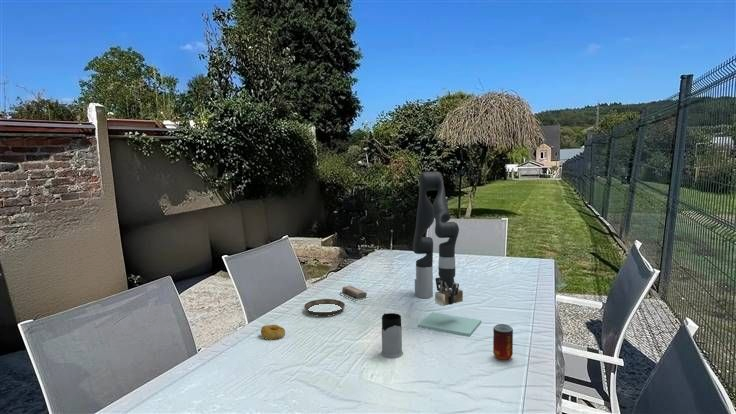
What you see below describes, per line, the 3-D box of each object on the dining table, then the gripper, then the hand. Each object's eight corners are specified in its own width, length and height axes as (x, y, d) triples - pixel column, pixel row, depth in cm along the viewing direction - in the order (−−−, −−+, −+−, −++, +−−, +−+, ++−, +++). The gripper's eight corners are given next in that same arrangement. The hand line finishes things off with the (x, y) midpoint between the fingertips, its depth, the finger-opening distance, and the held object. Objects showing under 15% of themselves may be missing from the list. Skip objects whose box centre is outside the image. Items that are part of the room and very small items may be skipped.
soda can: (501, 351, 171) (501, 321, 169) (516, 358, 165) (517, 327, 164) (489, 356, 167) (489, 325, 165) (504, 363, 161) (504, 331, 160)
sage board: (417, 327, 198) (417, 324, 198) (432, 314, 214) (432, 312, 214) (469, 336, 186) (469, 333, 186) (481, 322, 202) (481, 320, 202)
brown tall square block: (462, 301, 200) (442, 306, 194) (455, 298, 204) (435, 303, 198) (462, 290, 200) (442, 295, 194) (455, 288, 204) (435, 292, 198)
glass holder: (384, 359, 166) (384, 321, 165) (374, 344, 180) (373, 309, 178) (406, 356, 168) (405, 318, 167) (394, 342, 182) (393, 307, 181)
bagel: (274, 342, 184) (274, 331, 184) (255, 338, 190) (255, 327, 190) (290, 334, 193) (290, 324, 192) (272, 330, 199) (271, 320, 198)
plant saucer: (352, 307, 228) (351, 301, 227) (332, 320, 209) (332, 314, 209) (318, 302, 236) (317, 296, 236) (296, 315, 218) (296, 308, 217)
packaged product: (338, 287, 249) (353, 284, 255) (339, 295, 250) (353, 292, 255) (355, 294, 234) (370, 291, 240) (355, 303, 235) (370, 299, 240)
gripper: (430, 264, 201) (430, 299, 203) (451, 270, 189) (451, 308, 191) (443, 261, 205) (443, 297, 207) (464, 267, 193) (464, 305, 194)
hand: (446, 302), depth 199 cm, fingers closed on brown tall square block, 5 cm apart
